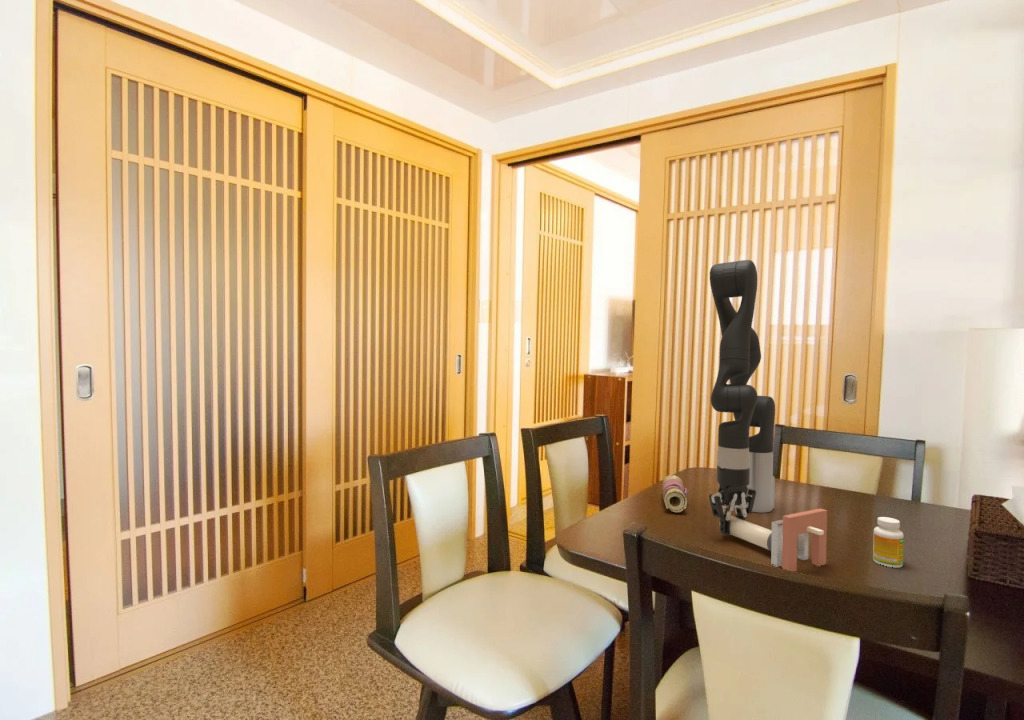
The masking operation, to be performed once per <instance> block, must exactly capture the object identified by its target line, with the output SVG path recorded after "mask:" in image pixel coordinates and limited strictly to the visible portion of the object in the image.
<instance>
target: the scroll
mask: <svg viewBox="0 0 1024 720" xmlns="http://www.w3.org/2000/svg"><path fill="white" fill-rule="evenodd" d="M662 493H663V496H662V497H663V501H664V504H665V507H666V509H667V510H668V509H669V510H670V511H671V512H674V513H681V512H682V511H684V510H686V508H687V505H688V499H687V498H688V495H689V494H690V491H688V488H687V487H684V484H683V480H682V479H681V478H680V476H677V475H674V474H673V475H667V476H666V477H664V478H663V480H662Z"/></svg>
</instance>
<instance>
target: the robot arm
mask: <svg viewBox="0 0 1024 720" xmlns="http://www.w3.org/2000/svg"><path fill="white" fill-rule="evenodd" d="M709 283H710V289H711V294H712V298H713V301H714V306H715V308H716V312H717V315H718V316H717V317H718V321H719V325H720V326H719V327H720V332H721V333H720V334H721V340H720V342H719V343H720V344H719V357H718V358H719V361H718V362H719V363H718V372H717V377H716V381H715V383H714V386H713V389H712V391H711V395H710V404H711V406H712V409H714V410H715V411H716V412H719V413H730V414H731V413H732V414H733V418H734V419H733V420H730V421H723V422H721V423H720V424H719V425H718V432H717V433H718V434H717V436H718V437H717V439H718V440H717V444H718V445H717V453H716V481H717V482H718V486H719V487H718V490H717V492H716V493H715V494H713V493H710V494H709V496H708V498H709V503H710V507H711V512H712V516H713V517H715V518H718V519H719V530H720V532H721V534H723V535H725V536H729V535H731V534H730V520H729V519H730V515H731V513H733V512H734V511H735V514H736V515H735V516H734V517H736V518H739V519H742V520H744V521H746V518H747V516H748V515H750V514H752V513H770V512H772V511H773V509H775V502H776V500H775V499H776V497H775V496H776V495H775V493H776V492H775V491H776V486H775V485H776V478H775V476H774V475H773V474H774V439H775V438H774V435H775V419H776V404H775V400H774V398H773V397H772V396H768V395H758V392H757V390H756V388H755V387H754V386H752V385H750V384H748V383H749V380H750V379H751V377H752V375H753V374H754V373H755V372H756V370H757V368H758V367H759V365H760V362H761V359H762V352H761V344H760V339H759V336H758V334H757V332H756V330H755V329H754V328H753V320H754V314H755V305H756V300H757V292H758V271H757V267H756V264H755V262H754V261H753V260H751V259H744V260H743V259H742V260H735V261H728V262H721V263H716V264H715V263H714V264H713V265H712V266H711V267H710V269H709ZM738 297H739V298H740V297H741V301H740V304H739V308H738V310H736V309H735V308H734V306H733V304H732V302H731V300H730V298H738ZM728 382H729V384H728ZM750 427H752V428H753V427H754V428H759V432H758V433H756V434H754V435H750Z"/></svg>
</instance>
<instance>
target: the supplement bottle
mask: <svg viewBox="0 0 1024 720" xmlns="http://www.w3.org/2000/svg"><path fill="white" fill-rule="evenodd" d="M876 522H877V525H878V526H875V527H874V529H873V538H872V539H873V540H872V541H873V542H872V543H873V544H872V545H873V549H872V550H873V551H872V560H873V561H874V563H876V564H878V565H880V564H881V565H880V566H882V565H884V566H883V567H886V566H887V568H892V567H893V569H899V568H902V567H903V566H904V544H905V543H904V541H905V540H904V533H903V531H901V530H900V529H901V528H900V527H901V522H900V520H899V519H896V518H894V517H888V516H880V517H877V521H876Z"/></svg>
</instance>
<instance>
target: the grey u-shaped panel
mask: <svg viewBox="0 0 1024 720" xmlns="http://www.w3.org/2000/svg"><path fill="white" fill-rule="evenodd" d="M771 530H772V538H771V551H770V553H771V555H770V558H771V559H770V563H771V564H770V565H771V566H773V567H775V568H780V567H779V566H781V567H782V534H783V519H779V520H775V521H771ZM809 533H810V532H809ZM809 533H804V534H800V535H797V559H799V560H802V561H808V560H809ZM772 564H774V565H772ZM775 565H776V566H775ZM778 565H779V566H778Z"/></svg>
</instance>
